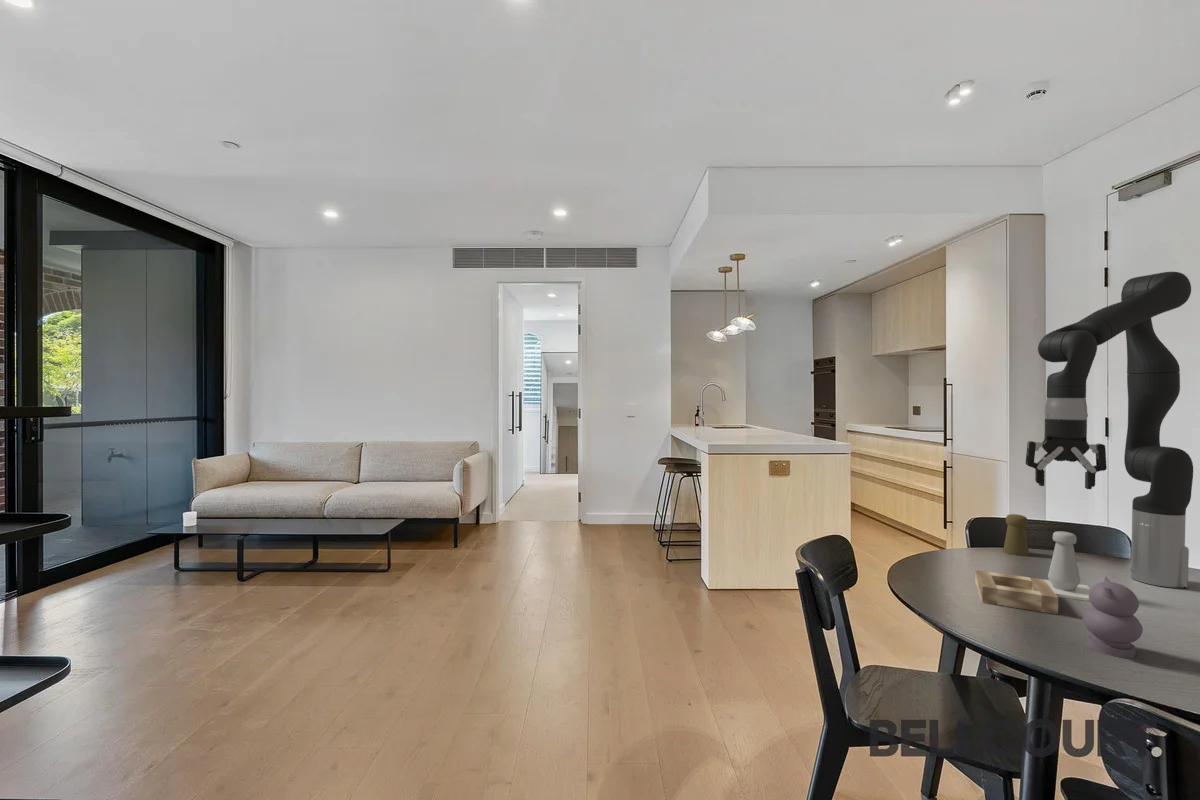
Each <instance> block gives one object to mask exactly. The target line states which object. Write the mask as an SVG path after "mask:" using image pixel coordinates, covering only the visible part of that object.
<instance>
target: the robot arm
mask: <svg viewBox="0 0 1200 800" xmlns="http://www.w3.org/2000/svg"><path fill="white" fill-rule="evenodd" d="M1191 293H1192V284H1191V281H1190V279H1189V278H1188V276H1187V275H1186V274H1184V273H1182V272H1179V271H1165V272H1157V273H1152V274H1147V275H1142V276H1137V277H1136V276H1135V277H1132V278H1130V279H1128V280H1127V281H1126V282H1125V283H1124V284H1123V286H1122V289H1121V294H1120V297H1121V298H1120V301H1119V302H1116V303H1113V304H1110V305H1107V306H1105V307H1102V308H1101V309H1098V310H1096V311H1094V312H1092V313H1090V314H1089V315H1087V316H1085V317H1084V318H1082V319H1080V320H1079V321H1077V322H1074V323H1071V324H1068V325H1066V326H1065V325H1064V326H1063V327H1060V328H1058V329H1055V330H1052V331H1051V332H1048V333H1047V334H1045V335H1044V336H1043V337H1042V338H1041V340H1040V341H1039V342H1038V346H1037V351H1038V355H1039V356H1040V357H1041V359H1043V360H1044V361H1045V362H1049V363H1066V365H1065V366H1064V369H1062V370H1060V371H1057V372H1054V373H1051V374H1049V375H1048V376H1047V378H1046V399H1045V400H1046V401H1045V406H1044V437H1043V438H1044V439H1043V441H1042V442H1039V441H1038V442H1037V441H1033V440H1029V441H1027V444H1026V454H1025V455H1026V457H1025V465H1026V466H1028V467H1030V468H1033V469H1034V470H1035V472H1034V473H1035V479H1034V481H1035V482H1036V484H1038V486H1039V487H1045V472H1046V471H1045V470H1044V469H1045V468H1046V467H1047V466H1048V465H1049V464H1050V463H1052V462H1053V461H1056V462H1066V461H1067V462H1070V463H1075V462H1078V463H1079V464H1080V465H1081V466H1082V467H1083V469H1085V471H1084V488H1085V489H1086V490H1092V488H1095V486H1096V474H1097V473H1098V472H1102V471H1103V472H1104V471H1106V470H1107V454H1106V453H1107V452H1106V445H1105V444H1103V443H1091V444H1089V443H1088V435H1087V434H1088V432H1087V431H1088V417H1089V416H1088V415H1089V413H1088V406H1087V379H1088V377H1089V374H1090V371H1091V369H1092V366H1093V363H1094V360H1095V357H1096V355H1097V351H1098V346H1100V345H1101V346H1102V345H1103V344H1104V343H1106V342H1108V341H1110V340H1112V339H1113V338H1115V337H1116V336H1118V335H1120V334H1121V333H1123V332H1125V339H1126V357H1127V358H1126V361H1127V362H1126V363H1127V364H1126V377H1127V378H1126V382H1127V383H1126V385H1127V387H1126V388H1127V428H1126V429H1127V430H1126V438H1125V439H1126V440H1125V446H1124V456H1123V457H1124V466H1125V470H1126V472H1127V474H1128V475H1129V476H1130V477H1131V478H1132V479H1134V480H1137V481H1139V482H1145V483H1150V488H1149V491H1148V493H1146V494H1144V495H1140V496H1135V497H1133V499H1132V506H1131V507H1132V509H1131V510H1132V511H1131V548H1130V549H1131V551H1130V552H1131V553H1130V555H1131V556H1130V577H1131V579H1133V580H1135V581H1138V582H1141V583H1145V584H1148V585H1153V586H1159V587H1167V588H1184V587H1185V589H1188V588H1189V562H1190V561H1189V558H1190V557H1189V556H1190V549H1189V547H1188V546H1186V520H1187V519H1186V516H1187V515H1186V513H1187V512H1186V511H1187V508H1188V506H1189V504H1190V502H1191V498H1192V492H1193V491H1192V489H1193V488H1192V487H1193V479H1194V465H1193V460H1192V458H1191V456H1190V455H1189V453H1187V451H1185V450H1183V449H1182V448H1177V447H1172V446H1171V447H1170V446H1162V445H1161V444H1160V443H1161V441H1160V435H1161V434H1160V433H1161V427H1162V424H1163V421H1164V419H1165V417H1166V416H1167V414H1169V413H1168V412H1169V411H1170V410H1171V408H1173V406H1174V404H1175V403H1176V401H1177V399H1178V398H1179V395H1180V391H1181V372H1180V365H1179V362H1178V360H1177V359H1176V357H1175V355H1173V353H1172V352H1171V351H1170V350H1169V349H1168V348H1167V347H1166V345H1164V343H1163V342H1162V341H1161V340H1160V339H1159V337H1158V336H1157V334H1156V333H1155V330H1154V326H1153V325H1154V324H1153V320H1152V318H1154V317H1156V316H1159V315H1161V314H1164V313H1166V312H1169V311H1172V310H1175V309H1178V308H1181V307H1182V306H1183V305H1184V304H1186V303H1187V301H1188V300H1189V299H1190V297H1191ZM1041 448H1042V449H1043V450H1044V451H1045V452H1046V453H1045V454H1044V455H1043V456H1042V457H1041V458H1040V460H1039V461H1038V462H1035V457H1036V456H1035V455H1036V452H1037V451H1039V449H1041ZM1089 450H1090V451H1091V452H1092V453H1093V454H1095V464H1096V465H1093V464H1091V462H1090V461H1089V459H1087V458H1086V456H1085V454H1086V453H1087V452H1088V451H1089ZM1186 587H1187V588H1186Z"/></svg>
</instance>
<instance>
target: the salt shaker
mask: <svg viewBox="0 0 1200 800" xmlns="http://www.w3.org/2000/svg"><path fill="white" fill-rule="evenodd" d="M1077 540H1078V539H1077V536H1076V534H1074V533H1071V532H1068V531H1061V530H1060V531H1054V532H1053V533H1052V541H1053V542H1055V544H1054V548H1053V553H1052V558H1051V562H1050V567H1049V570H1048V574H1047V578H1048V580H1050V582H1051V584H1052V586H1053V587H1054V588H1056V589H1060V590H1063V591H1074V590H1075V589H1076V588H1077V586H1078V585H1079V584H1081V576H1080V572H1079V566H1078V562H1077V557H1076V552H1075V547H1074V545H1076V544H1077Z"/></svg>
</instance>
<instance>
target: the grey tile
mask: <svg viewBox="0 0 1200 800" xmlns="http://www.w3.org/2000/svg"><path fill="white" fill-rule="evenodd" d="M1044 580H1045V581H1046V582H1047V584H1048V585H1049V586H1050V588H1051V589H1052V590H1053V591H1054V593H1055V594H1056V595H1057V597H1058V598H1065V599H1072V600H1079V601H1085V602H1090V600H1089V591H1090V589H1091V588H1090V587H1089V586H1088V585H1087V584H1081V583H1079V585H1078V586H1077V588H1076V589H1075V590H1074V591H1063V590H1060V589H1056V588H1054V587H1053V586H1052V584H1051V582H1050V580H1049V579H1044Z"/></svg>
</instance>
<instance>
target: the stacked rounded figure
mask: <svg viewBox="0 0 1200 800" xmlns="http://www.w3.org/2000/svg"><path fill="white" fill-rule="evenodd" d="M1089 600H1090V601H1089V602H1090V603H1091V605H1092V606H1090V607H1088V608H1087V609H1086V610H1085V611H1084V613H1083V615H1082V621H1083V624H1084V625H1085V628H1086V629H1087V630H1088V631H1089V632H1090V633H1091V634H1089V635H1087V637H1086V644H1087V647H1089V648H1090V649H1093V650H1094V651H1096V652H1099V653H1101V654H1103V655H1104V654H1105V655H1109V656H1111V657H1117V658H1123V659H1124V658H1125V659H1128V658H1129V659H1131V658H1135V657H1136V651H1137V650H1136V646H1135V645H1134V644H1133V643H1134V642H1136V641H1138V640H1139V639H1140V638H1141V636H1142V635H1143V632H1144V629H1143V626H1142V623H1141V622H1140V620H1139V619H1138V618H1137V617H1136V616H1135V614H1136V613H1137V611H1138V609H1139V607H1140V603H1139V602H1140V601H1139V599H1138V597H1137V595H1136V594H1135V593H1134V592H1133V591H1132V590H1131V589H1130V588H1129V587H1127V586H1125V585H1123V584H1121V583H1118V582H1112V581H1110V579H1109V578H1108V577H1107V576H1105V578H1104V579H1103V582H1099V583H1096V584H1094V585H1093V586H1092V587H1091V588H1090V591H1089Z"/></svg>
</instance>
